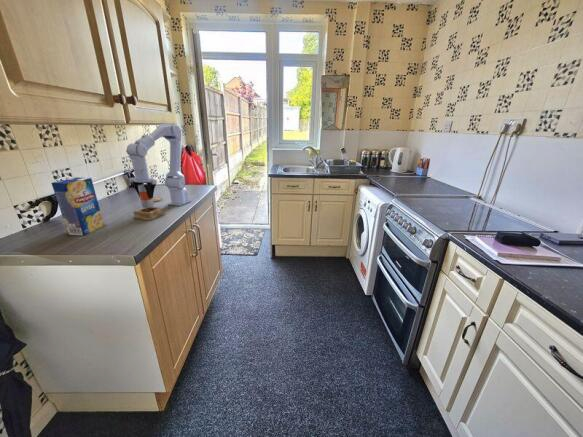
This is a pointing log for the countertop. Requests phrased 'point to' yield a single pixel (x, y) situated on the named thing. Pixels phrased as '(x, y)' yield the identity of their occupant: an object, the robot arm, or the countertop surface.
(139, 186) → the can
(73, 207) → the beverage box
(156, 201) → the coaster
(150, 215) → the holder
